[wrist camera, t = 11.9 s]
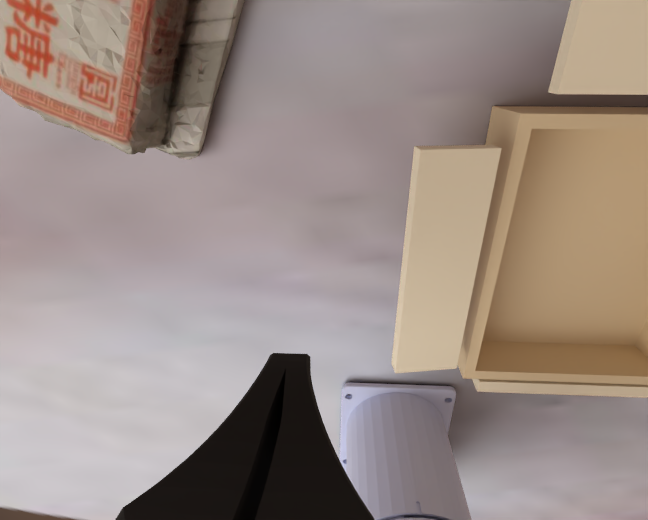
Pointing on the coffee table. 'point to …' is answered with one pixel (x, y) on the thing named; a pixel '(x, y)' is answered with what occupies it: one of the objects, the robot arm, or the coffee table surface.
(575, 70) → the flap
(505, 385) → the carton
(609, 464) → the coffee table surface
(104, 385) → the coffee table surface
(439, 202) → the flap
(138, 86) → the packaged product
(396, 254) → the coffee table surface
